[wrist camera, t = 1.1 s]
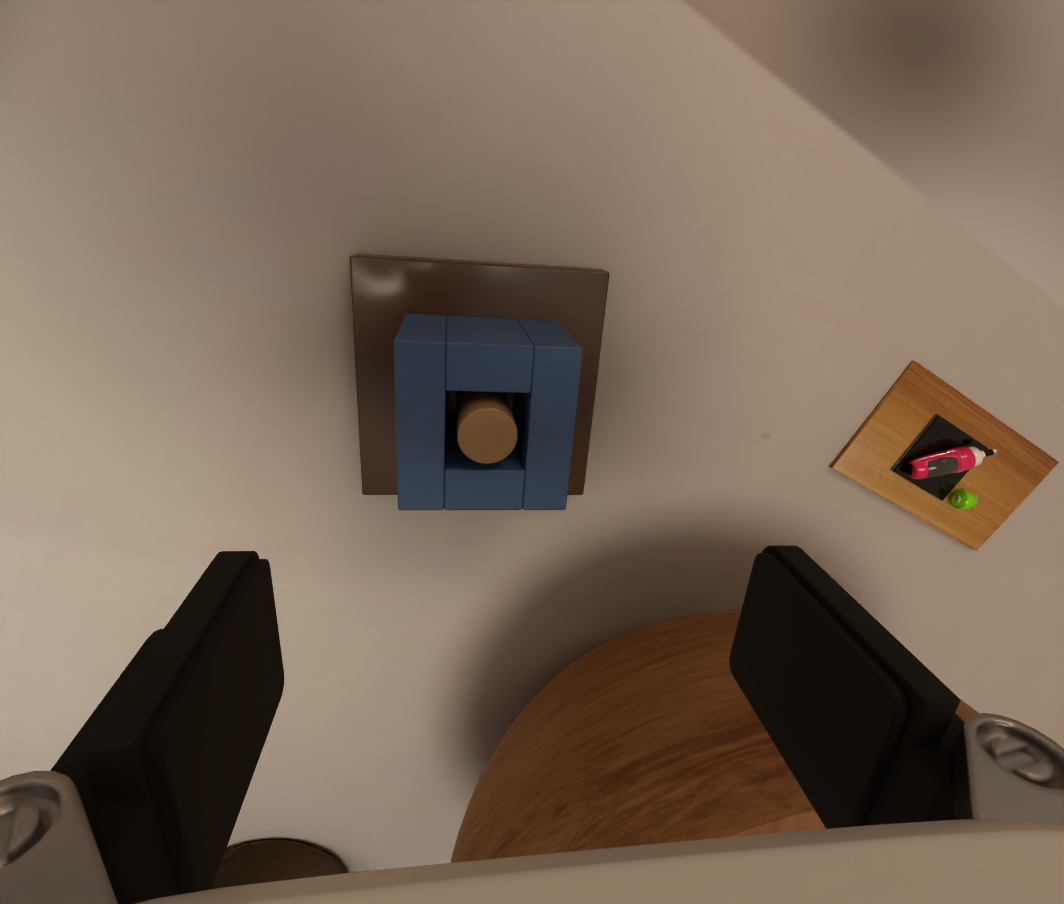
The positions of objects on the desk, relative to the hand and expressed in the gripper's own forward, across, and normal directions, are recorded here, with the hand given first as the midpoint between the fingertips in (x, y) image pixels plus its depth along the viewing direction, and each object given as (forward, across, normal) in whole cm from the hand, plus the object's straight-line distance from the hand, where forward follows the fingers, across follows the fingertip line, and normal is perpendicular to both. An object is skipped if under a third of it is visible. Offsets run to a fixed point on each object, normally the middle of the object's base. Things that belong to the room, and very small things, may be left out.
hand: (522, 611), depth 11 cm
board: (+16, -25, +3) cm, 29 cm away
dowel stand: (+15, 0, 0) cm, 15 cm away
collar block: (+14, 0, 0) cm, 14 cm away
